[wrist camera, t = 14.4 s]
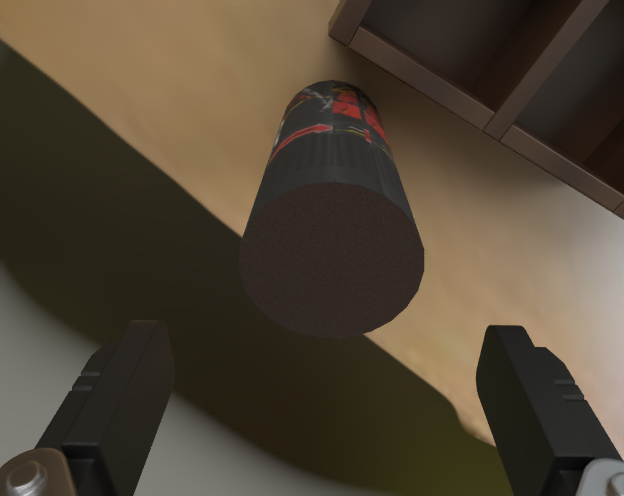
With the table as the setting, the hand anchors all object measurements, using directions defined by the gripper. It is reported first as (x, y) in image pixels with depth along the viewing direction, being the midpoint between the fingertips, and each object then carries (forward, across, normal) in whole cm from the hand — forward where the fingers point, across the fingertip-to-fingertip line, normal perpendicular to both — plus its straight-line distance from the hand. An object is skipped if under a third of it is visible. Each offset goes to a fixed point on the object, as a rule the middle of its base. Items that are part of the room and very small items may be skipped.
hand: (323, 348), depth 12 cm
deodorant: (+19, 0, 0) cm, 19 cm away
